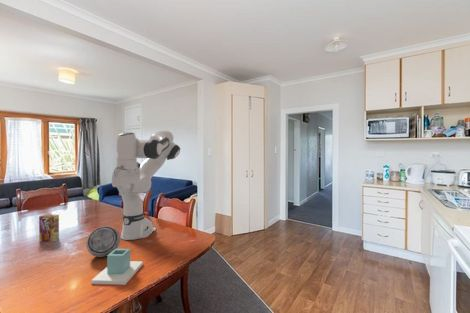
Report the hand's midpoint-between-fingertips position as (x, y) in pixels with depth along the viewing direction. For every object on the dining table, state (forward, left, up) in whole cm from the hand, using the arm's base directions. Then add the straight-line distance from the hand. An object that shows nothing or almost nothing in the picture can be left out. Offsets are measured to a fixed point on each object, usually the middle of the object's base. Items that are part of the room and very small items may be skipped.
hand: (126, 193), depth 110 cm
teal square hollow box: (+11, +6, -32) cm, 34 cm away
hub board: (+11, +6, -33) cm, 35 cm away
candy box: (-4, -62, -33) cm, 71 cm away
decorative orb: (0, -15, -33) cm, 37 cm away
